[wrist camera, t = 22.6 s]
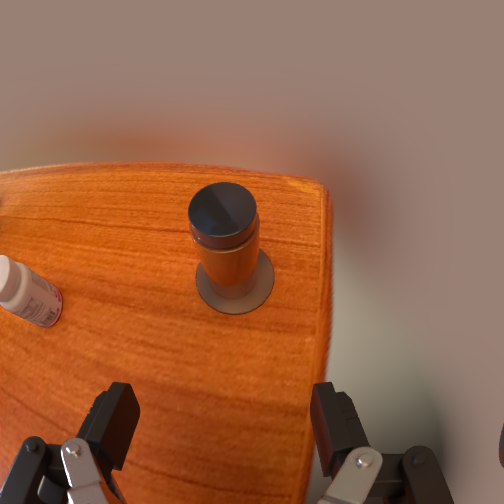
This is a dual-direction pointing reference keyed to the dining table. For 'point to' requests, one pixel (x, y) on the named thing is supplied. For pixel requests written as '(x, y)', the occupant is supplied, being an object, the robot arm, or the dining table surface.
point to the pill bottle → (28, 294)
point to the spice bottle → (226, 237)
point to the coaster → (244, 303)
